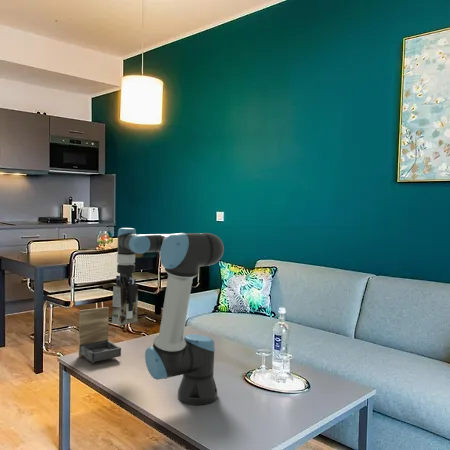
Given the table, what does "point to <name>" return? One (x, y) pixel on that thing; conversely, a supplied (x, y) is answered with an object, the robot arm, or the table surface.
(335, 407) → the table surface
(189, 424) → the table surface
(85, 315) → the grey and wood box
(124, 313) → the coffee box
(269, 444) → the table surface
